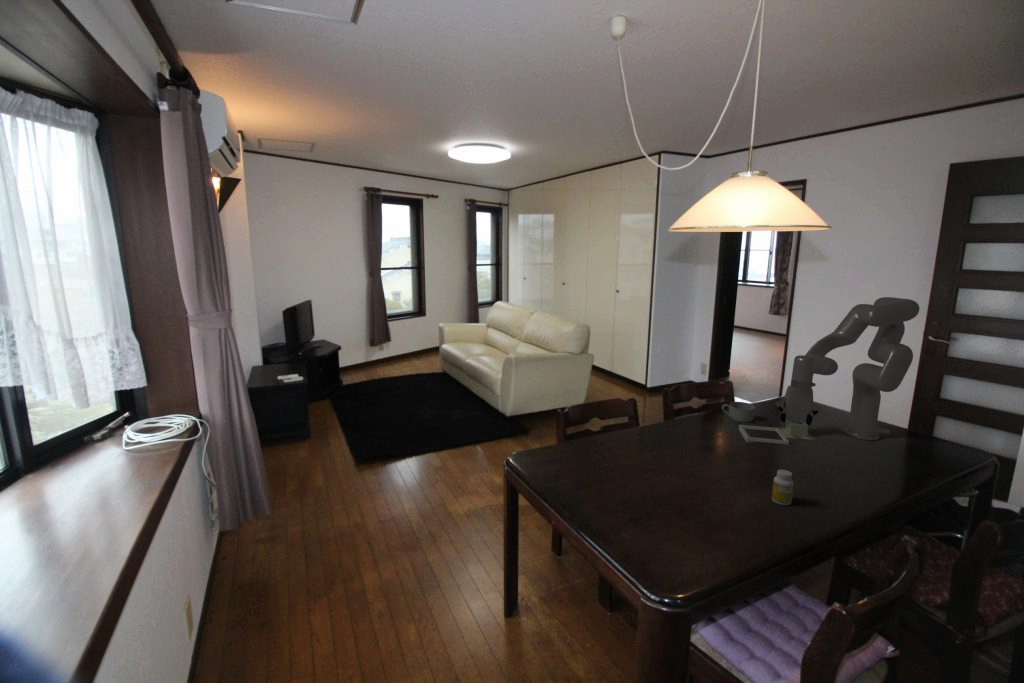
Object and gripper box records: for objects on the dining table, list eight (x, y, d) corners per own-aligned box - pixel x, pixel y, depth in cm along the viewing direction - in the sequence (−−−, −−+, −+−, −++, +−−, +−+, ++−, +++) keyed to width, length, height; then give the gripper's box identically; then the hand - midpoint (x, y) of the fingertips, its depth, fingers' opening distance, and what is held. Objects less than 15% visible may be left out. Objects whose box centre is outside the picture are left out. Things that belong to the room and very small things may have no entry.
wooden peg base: (806, 432, 200) (808, 418, 198) (816, 442, 188) (818, 427, 187) (776, 429, 203) (777, 415, 202) (784, 439, 191) (786, 424, 190)
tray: (777, 432, 199) (777, 427, 198) (788, 446, 184) (789, 441, 184) (738, 429, 203) (739, 424, 202) (746, 442, 188) (747, 437, 188)
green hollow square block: (801, 431, 197) (803, 420, 197) (807, 436, 191) (808, 425, 190) (785, 430, 199) (786, 419, 198) (790, 435, 193) (791, 424, 192)
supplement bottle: (773, 494, 146) (776, 466, 144) (792, 500, 143) (796, 471, 141) (770, 501, 142) (773, 472, 140) (789, 507, 139) (793, 478, 137)
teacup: (754, 420, 215) (756, 403, 213) (752, 427, 206) (754, 410, 204) (722, 414, 222) (724, 399, 221) (719, 421, 213) (720, 405, 212)
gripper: (820, 384, 193) (814, 422, 196) (775, 380, 197) (770, 417, 200) (827, 389, 186) (821, 428, 189) (781, 384, 190) (775, 423, 193)
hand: (795, 423), depth 194 cm, fingers open, 9 cm apart
